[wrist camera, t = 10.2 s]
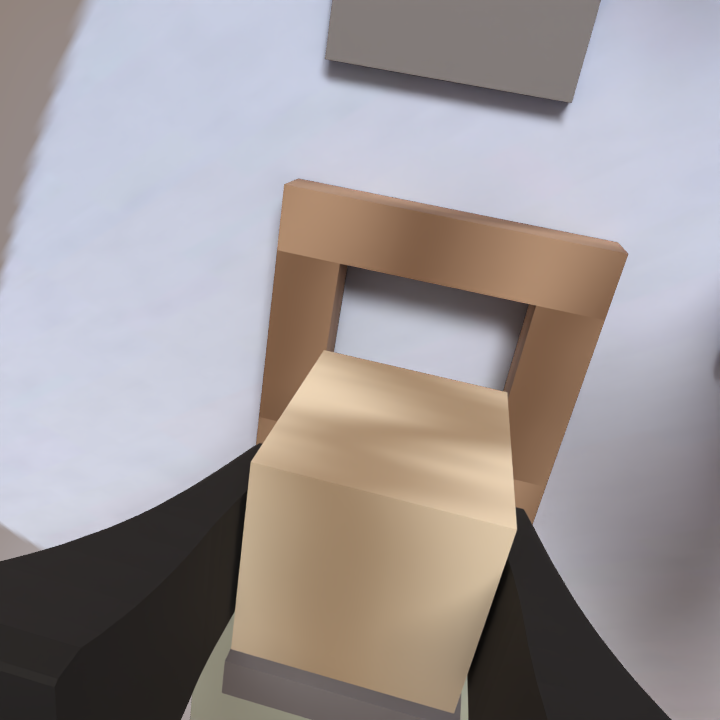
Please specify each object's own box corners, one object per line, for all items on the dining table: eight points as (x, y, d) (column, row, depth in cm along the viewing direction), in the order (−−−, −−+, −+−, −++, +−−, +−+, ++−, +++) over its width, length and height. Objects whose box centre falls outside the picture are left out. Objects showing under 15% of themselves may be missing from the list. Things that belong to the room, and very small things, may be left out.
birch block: (507, 392, 14) (517, 529, 10) (463, 539, 16) (453, 713, 11) (323, 350, 15) (250, 462, 10) (301, 498, 16) (230, 649, 12)
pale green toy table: (512, 548, 21) (523, 748, 15) (453, 718, 25) (442, 938, 18) (261, 483, 22) (167, 644, 16) (241, 656, 26) (158, 845, 19)
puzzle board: (617, 242, 18) (628, 253, 17) (486, 624, 25) (486, 654, 24) (298, 178, 19) (284, 184, 18) (253, 561, 26) (240, 586, 25)
